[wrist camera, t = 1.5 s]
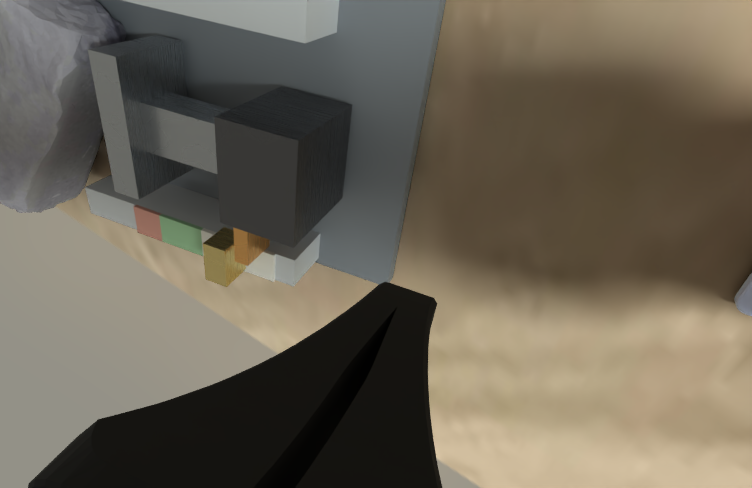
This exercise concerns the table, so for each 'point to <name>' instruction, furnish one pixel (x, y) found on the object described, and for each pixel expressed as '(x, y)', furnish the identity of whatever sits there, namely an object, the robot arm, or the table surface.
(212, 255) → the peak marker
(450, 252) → the table surface
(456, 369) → the table surface
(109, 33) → the stone block
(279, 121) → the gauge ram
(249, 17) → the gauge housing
